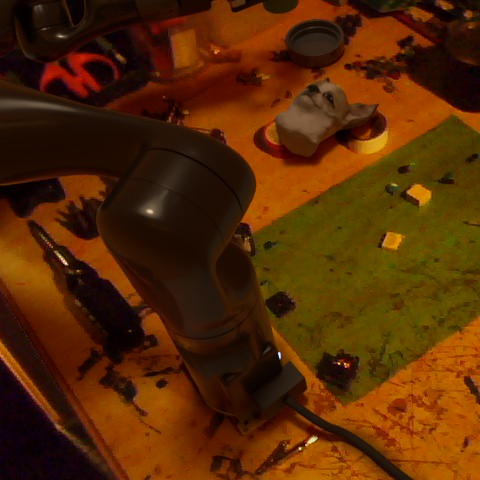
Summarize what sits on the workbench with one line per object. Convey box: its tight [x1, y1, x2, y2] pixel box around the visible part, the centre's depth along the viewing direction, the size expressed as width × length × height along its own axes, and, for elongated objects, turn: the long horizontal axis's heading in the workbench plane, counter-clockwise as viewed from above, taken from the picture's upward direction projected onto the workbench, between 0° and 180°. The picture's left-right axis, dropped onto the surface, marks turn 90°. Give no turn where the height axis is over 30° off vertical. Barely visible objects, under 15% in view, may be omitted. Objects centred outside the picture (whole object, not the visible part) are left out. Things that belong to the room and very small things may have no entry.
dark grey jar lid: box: [284, 18, 346, 69], centre depth 104 cm, size 9×9×2 cm
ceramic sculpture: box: [273, 77, 380, 158], centre depth 91 cm, size 11×9×15 cm
